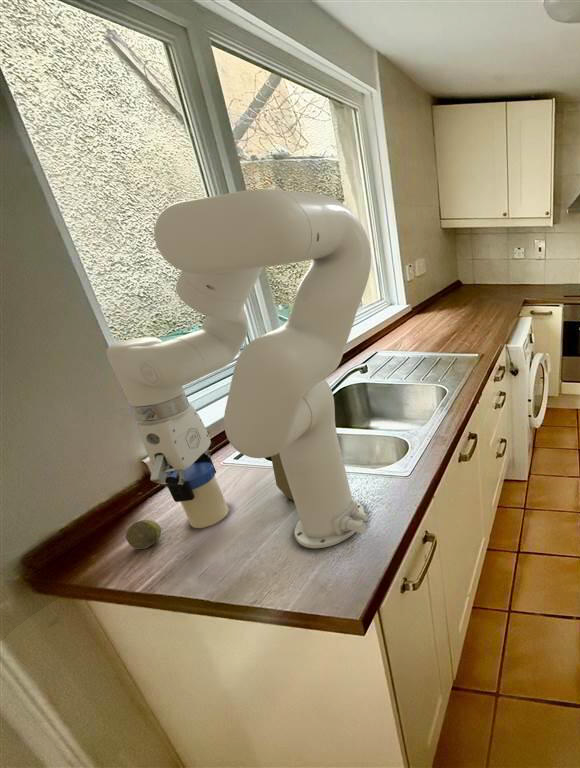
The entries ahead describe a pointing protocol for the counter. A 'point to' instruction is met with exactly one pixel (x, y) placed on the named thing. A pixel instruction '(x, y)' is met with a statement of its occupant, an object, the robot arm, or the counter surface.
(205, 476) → the lid
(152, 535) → the lime
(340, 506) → the robot arm
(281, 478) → the squeeze bottle
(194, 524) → the jar
